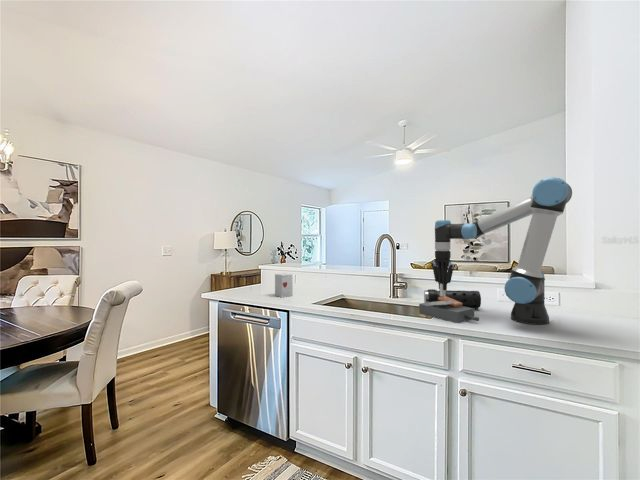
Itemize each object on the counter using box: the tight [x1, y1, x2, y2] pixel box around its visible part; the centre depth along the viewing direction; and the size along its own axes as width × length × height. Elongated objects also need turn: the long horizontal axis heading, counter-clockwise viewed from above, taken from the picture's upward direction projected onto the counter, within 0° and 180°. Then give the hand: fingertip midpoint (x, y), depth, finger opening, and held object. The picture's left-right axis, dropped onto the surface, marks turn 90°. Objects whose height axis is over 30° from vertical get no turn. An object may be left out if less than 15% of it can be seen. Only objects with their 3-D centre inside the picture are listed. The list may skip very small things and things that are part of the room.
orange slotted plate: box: [438, 296, 463, 307], centre depth 163 cm, size 10×6×1 cm, turn 33°
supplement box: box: [274, 272, 293, 298], centre depth 220 cm, size 9×9×15 cm
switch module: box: [418, 301, 480, 324], centre depth 158 cm, size 28×13×6 cm, turn 32°
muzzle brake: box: [423, 288, 482, 310], centre depth 178 cm, size 10×28×10 cm, turn 78°
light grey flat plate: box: [429, 301, 454, 305], centre depth 159 cm, size 10×6×1 cm, turn 32°
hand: (442, 296), depth 166 cm, fingers closed
